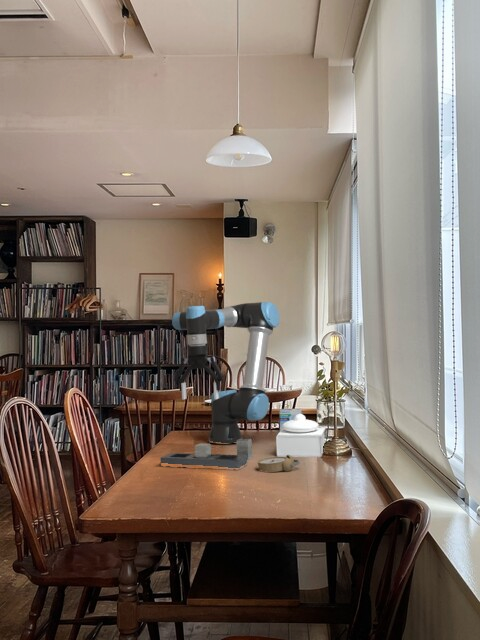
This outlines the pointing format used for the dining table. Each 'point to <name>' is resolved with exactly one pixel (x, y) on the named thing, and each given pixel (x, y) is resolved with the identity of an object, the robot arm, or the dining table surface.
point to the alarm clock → (277, 464)
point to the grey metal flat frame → (205, 460)
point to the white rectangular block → (244, 448)
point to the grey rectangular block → (203, 450)
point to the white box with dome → (300, 438)
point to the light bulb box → (288, 415)
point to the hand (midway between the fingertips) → (200, 399)
